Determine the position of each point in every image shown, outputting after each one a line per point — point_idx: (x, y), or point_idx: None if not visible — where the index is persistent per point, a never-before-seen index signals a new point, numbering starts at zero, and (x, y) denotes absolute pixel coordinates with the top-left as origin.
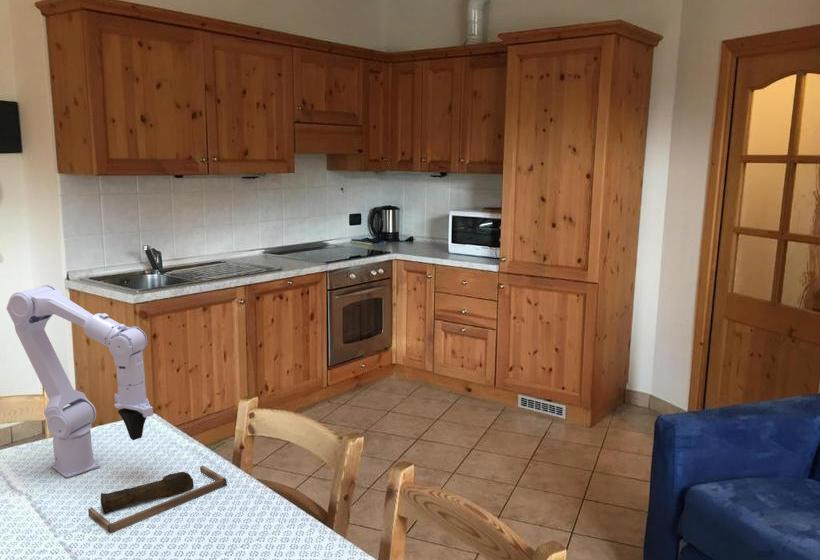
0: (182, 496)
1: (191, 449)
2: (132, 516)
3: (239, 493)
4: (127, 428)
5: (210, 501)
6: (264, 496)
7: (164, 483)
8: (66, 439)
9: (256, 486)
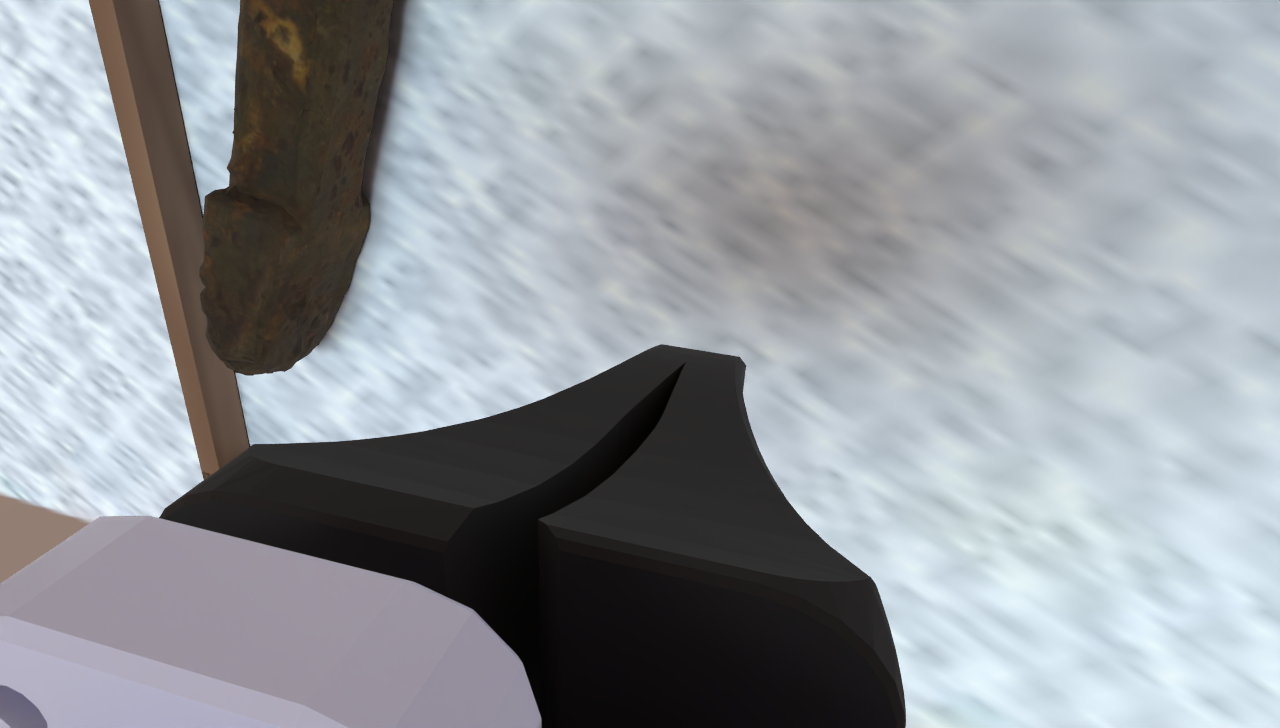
0: (135, 191)
1: None
2: None
3: (120, 436)
4: (703, 409)
5: (115, 293)
6: (38, 473)
7: (233, 180)
8: None
9: None
